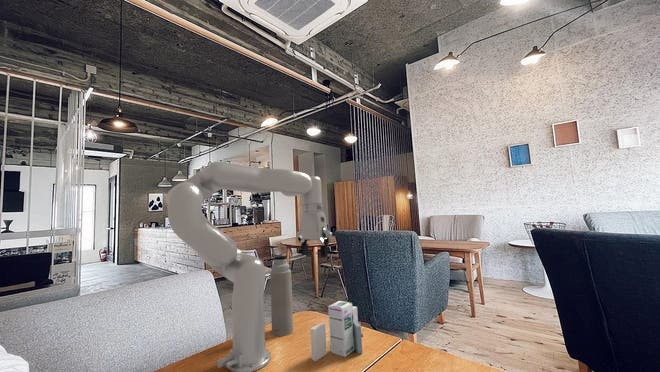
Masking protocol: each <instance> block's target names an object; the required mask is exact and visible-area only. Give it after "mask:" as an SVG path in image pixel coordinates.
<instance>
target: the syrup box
mask: <svg viewBox="0 0 660 372" xmlns="http://www.w3.org/2000/svg"><path fill="white" fill-rule="evenodd" d="M352 307H353V302H349V301H344V300H338V301H336V302H334V303H332V304H329V305H328V308H327V310H328V323H329V340H330V353H332V354H334V355H337V356H340V357H343V358H347V356H348V355H350V354H351V353H353V352H354V351H356V349H355V335H354V321H353V308H352Z"/></svg>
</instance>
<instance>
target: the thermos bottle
mask: <svg viewBox="0 0 660 372" xmlns="http://www.w3.org/2000/svg"><path fill="white" fill-rule="evenodd" d="M287 257H288V256H287V255H277V256H274V257H273V264H272V266H271V271H270V272H269V273H270V274H269V275H270V277H269V278H270V279H269V280H270V282H269V283H270V311H271V312H270V313H271V314H270V315H271V334H272V335H273V336H275V337H284V336H288V335H291V334H292V333H293V331H294V318H293V317H294V315H293V312H294V310H293V287H292V284H293V283H292V269H290V264H289V263H288V262H287V261H288V260H287Z"/></svg>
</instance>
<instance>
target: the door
mask: <svg viewBox="0 0 660 372" xmlns="http://www.w3.org/2000/svg"><path fill="white" fill-rule="evenodd" d="M353 321H354V335H355V351H356V353H357V354H363V342H362V341H363V339H362V338H364V334H363V332H362V325H361V324H360V323H359V320H358V321H357V320H356V318H355V317H354V316H353Z"/></svg>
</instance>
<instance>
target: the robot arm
mask: <svg viewBox="0 0 660 372" xmlns="http://www.w3.org/2000/svg"><path fill="white" fill-rule="evenodd" d="M219 190H223V191H224V190H226V191H233V192H234V191H236V192H241V193H242V192H244V193H251V194H265V193H272V192H273V193H275V192H277V193H281V194H282V195H283V196H286V197H291V198H292V197H296V196H297V197H298V196H301V206H302V207H301V208H302V209H301V210H302V213H301V216H300V229H299V230H298V231H297V232H296V233H295V234H296V237H297V241H298V242H299V245H300V249H301V251H300V252H301V256H308V255H309V243H308V242H309V241H319V243H320V257H321V258H325V257H328V256H329V249H328V245H329V244H330V243H331V241H332V237H333V232H331V231H330V230H329V229H328V224H327V218H326V215H325V212H323V210H324V209H325V207H324V205H323V197H322V180H321V178H320V177H319V176H316V175H315V176H313V175H311V176H309V175H308V174H307V173H304V172H302V171H297V170H289V169H282V168H281V169H280V168H268V167H257V166H250V165H249V166H248V165H244V164H239V163H238V164H237V163H231V162H226V161H221V160H220V161H213V162H211V163H209V164H208V165H206V166H205V167H204V168H202V169H200V171H198V172H196V174H194V175H192V176H191V177H189V178H187V179H186V180H184V181H182V182H180V183H177V184H175V186H173V187H172V188H171V189H169V191H168V192H167V194H166V196H165V202H166V206H167V218H168V222H169V226H170V228H171V229H172V231H173V233H174V234H175V235H176V236H177V237H178V238H179V239H180V240H181V241H182V242H184V243H185V244H186V245H187V246H189V248H191V249H192V250H194V251H195V252H196V253H198V257H199V258H200V259H201V260H202V261H203V262H204V263H205V264H207V265H208V267H211V268H212V269H213V270H214V271H216V272H217V273H218V274H220V275H221V276H222V277H224V278H226V280H228V281H230V282H231V283H233V291H232V295H231V297H232V298H231V318H232V319H231V326H232V327H231V329H232V348H231V349H229V350H228V351H229V352H228V354H227V355H226V356H225V357H223V358H220V359H218V360H216V366H217V367H216V368H217V369H220V368H223V367H224V366H225V367H226V368H227V369H228V371H230V372H255V371H257V370H260V369H262V368H263V367H265V366H267V364H268V363H269V362H270V361H271V351H269V350H268V349H267V348H266V333H265V331H266V325H265V324H266V323H265V319H266V318H265V284H266V283H265V282H266V273H267V272H266V267H265V264H264V262H263V261H262V260H261V259H260V257H259V258H258V257H256V256H254V255H252V254H247V253H244V252H242V251H241V250H240V249H239V248H238V246H237V244H236V242H235V240H234V239H233V238H232V237H230V236H228V235H227V234H226V233H225V232H224V231H222V230H221V229H220V228H218V226H216V225H214V224H213V223H212V222H211V221H210V220H209V219H208V218H207V217H206V216H205V214H204V213H203V209H202V206H203V202H204V201H206V200H207V199H209V198H210V197H212V195H214V194H215V193H216V192H219Z"/></svg>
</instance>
